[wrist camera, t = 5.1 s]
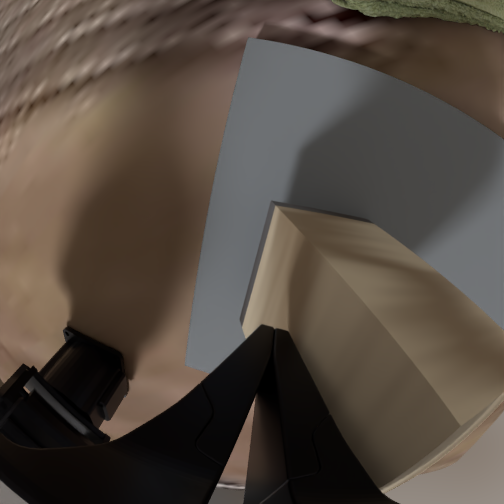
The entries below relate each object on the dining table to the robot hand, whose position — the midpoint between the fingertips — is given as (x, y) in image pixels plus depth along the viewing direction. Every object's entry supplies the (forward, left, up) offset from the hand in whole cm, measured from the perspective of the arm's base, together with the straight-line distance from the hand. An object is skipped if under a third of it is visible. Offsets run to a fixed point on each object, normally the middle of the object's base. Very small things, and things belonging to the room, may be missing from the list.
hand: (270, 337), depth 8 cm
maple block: (+1, 0, -5) cm, 6 cm away
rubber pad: (+7, 0, -8) cm, 10 cm away
